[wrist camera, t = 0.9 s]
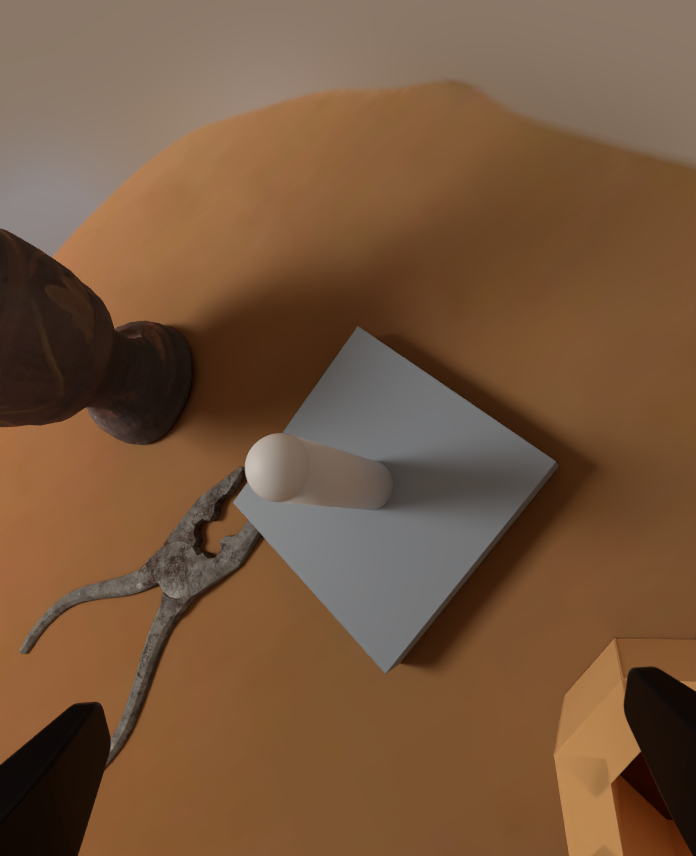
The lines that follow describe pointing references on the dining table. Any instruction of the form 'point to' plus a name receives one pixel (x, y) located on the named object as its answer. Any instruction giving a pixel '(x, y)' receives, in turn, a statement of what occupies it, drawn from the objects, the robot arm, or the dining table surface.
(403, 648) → the pin base
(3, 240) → the mortar and pestle
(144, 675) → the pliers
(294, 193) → the dining table surface
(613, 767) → the collar
